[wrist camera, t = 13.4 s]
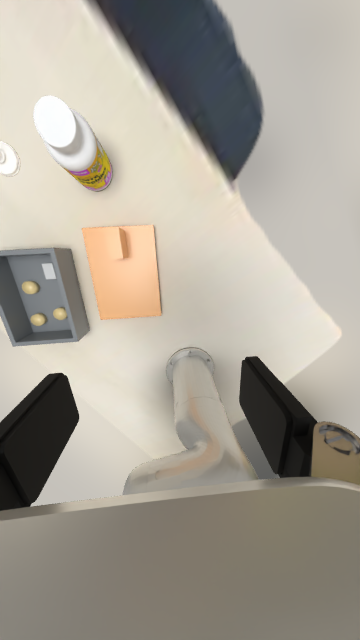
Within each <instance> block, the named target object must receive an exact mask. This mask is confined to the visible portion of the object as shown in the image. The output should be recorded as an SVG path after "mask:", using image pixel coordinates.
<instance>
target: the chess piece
mask: <svg viewBox="0 0 360 640" xmlns="http://www.w3.org/2000/svg"><path fill="white" fill-rule="evenodd" d="M19 169H20V159H19V156H18V154H17V153H16V151H15V150H14V149H13V148H12V147H11V146H10V145H9V144H7V143H5V142H3V141H0V174H2V175H4V176H9V177H10V176H14V175H16V174H17V173H18V172H19Z"/></svg>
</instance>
